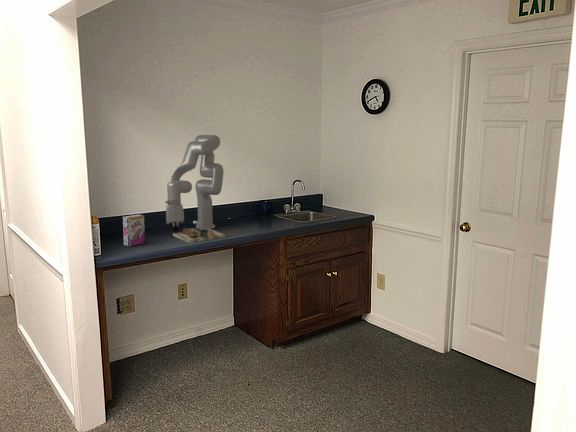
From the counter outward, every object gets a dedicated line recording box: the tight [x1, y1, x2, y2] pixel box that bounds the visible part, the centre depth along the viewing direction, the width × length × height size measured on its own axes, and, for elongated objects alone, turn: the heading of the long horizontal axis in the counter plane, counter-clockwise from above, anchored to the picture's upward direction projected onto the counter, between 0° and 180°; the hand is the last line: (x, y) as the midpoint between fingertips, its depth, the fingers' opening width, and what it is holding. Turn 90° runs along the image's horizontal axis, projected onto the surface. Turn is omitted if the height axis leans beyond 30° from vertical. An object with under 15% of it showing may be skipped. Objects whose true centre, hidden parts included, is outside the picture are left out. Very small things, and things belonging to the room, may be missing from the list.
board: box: [172, 229, 227, 243], centre depth 298 cm, size 24×22×2 cm
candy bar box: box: [122, 214, 146, 247], centre depth 276 cm, size 11×5×16 cm, turn 141°
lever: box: [182, 227, 197, 238], centre depth 294 cm, size 18×4×5 cm, turn 27°
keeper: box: [195, 227, 208, 238], centre depth 291 cm, size 4×9×5 cm, turn 37°
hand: (175, 232), depth 298 cm, fingers closed
